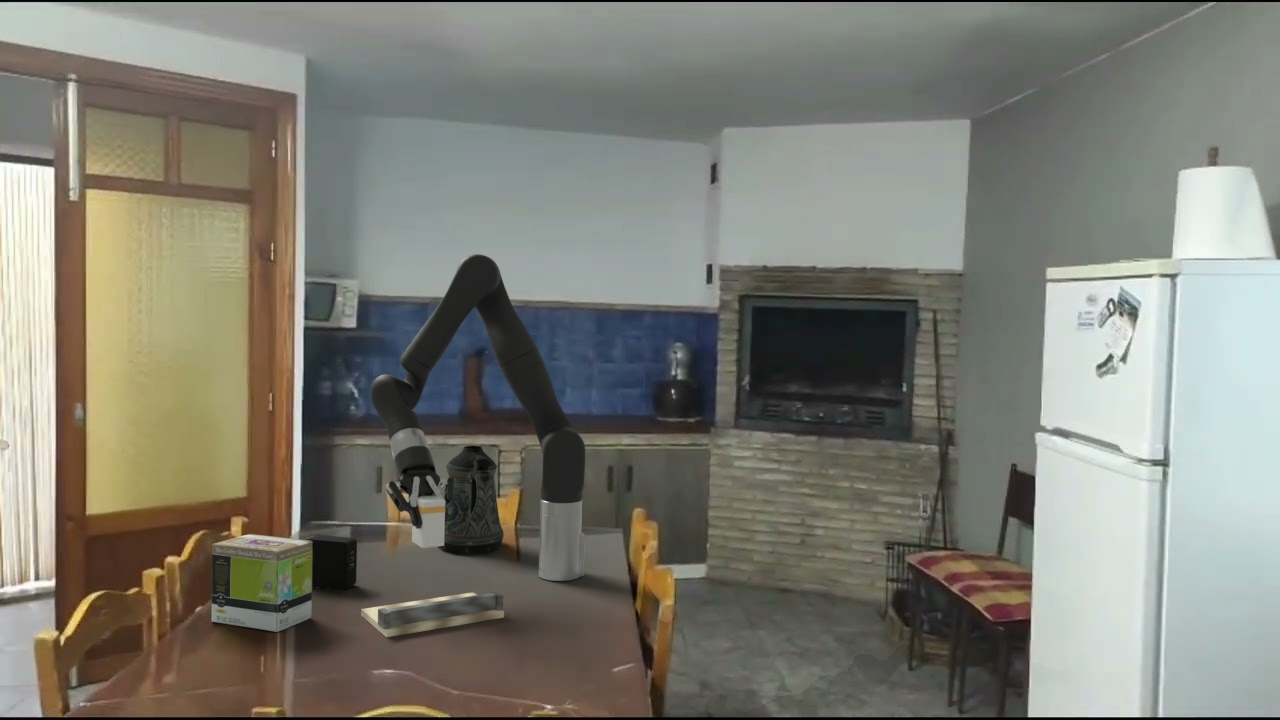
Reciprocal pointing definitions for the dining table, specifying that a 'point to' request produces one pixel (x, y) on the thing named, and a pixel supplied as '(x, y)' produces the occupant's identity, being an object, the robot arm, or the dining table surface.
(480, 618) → the mount board
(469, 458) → the beer stein
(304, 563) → the tea box
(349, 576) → the electronic device
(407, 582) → the dining table surface
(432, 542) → the module
